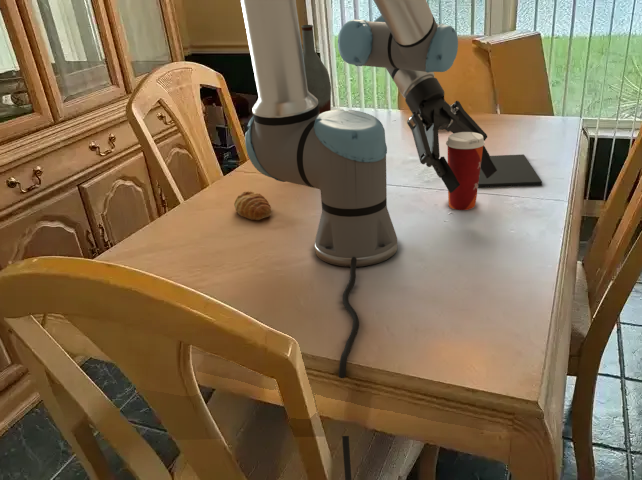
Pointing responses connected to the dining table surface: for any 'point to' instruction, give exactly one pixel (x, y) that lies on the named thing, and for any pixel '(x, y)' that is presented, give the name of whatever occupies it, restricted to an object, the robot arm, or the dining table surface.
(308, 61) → the bottle
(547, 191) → the dining table surface
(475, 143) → the paper cup
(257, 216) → the pastry
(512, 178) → the dark mat
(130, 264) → the dining table surface
